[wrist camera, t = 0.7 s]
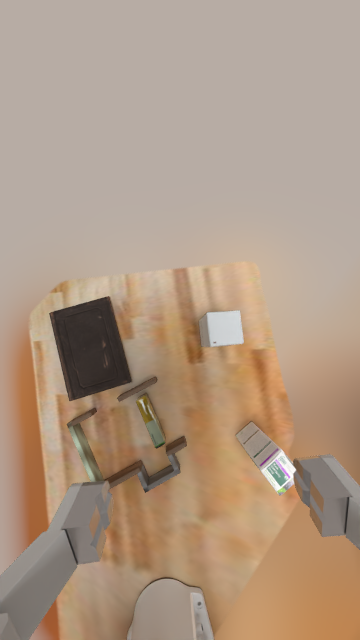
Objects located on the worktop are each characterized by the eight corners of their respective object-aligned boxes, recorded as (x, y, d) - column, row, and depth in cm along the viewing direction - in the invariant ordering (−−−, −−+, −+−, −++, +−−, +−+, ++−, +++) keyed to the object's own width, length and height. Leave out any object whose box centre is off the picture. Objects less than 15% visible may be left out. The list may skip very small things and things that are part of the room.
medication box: (166, 436, 50) (166, 444, 46) (156, 441, 49) (155, 450, 45) (147, 392, 51) (145, 396, 47) (137, 396, 51) (134, 401, 47)
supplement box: (228, 344, 53) (244, 344, 40) (200, 346, 53) (209, 347, 40) (225, 317, 54) (240, 309, 41) (198, 319, 53) (206, 312, 41)
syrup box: (234, 435, 50) (259, 472, 36) (251, 419, 51) (282, 450, 36) (248, 453, 50) (279, 498, 35) (266, 438, 50) (303, 476, 36)
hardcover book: (111, 298, 54) (108, 296, 52) (133, 380, 51) (131, 382, 49) (53, 314, 53) (47, 313, 51) (72, 399, 50) (67, 401, 48)
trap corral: (194, 456, 49) (195, 464, 46) (109, 504, 47) (105, 515, 44) (155, 376, 51) (154, 378, 48) (73, 419, 49) (66, 424, 46)
